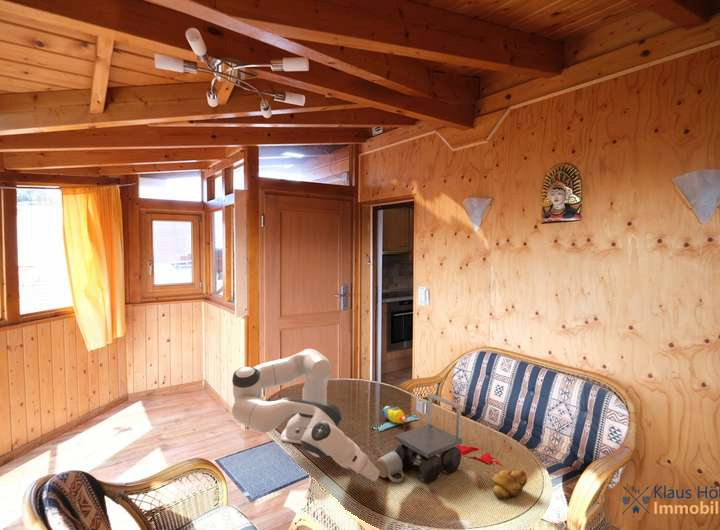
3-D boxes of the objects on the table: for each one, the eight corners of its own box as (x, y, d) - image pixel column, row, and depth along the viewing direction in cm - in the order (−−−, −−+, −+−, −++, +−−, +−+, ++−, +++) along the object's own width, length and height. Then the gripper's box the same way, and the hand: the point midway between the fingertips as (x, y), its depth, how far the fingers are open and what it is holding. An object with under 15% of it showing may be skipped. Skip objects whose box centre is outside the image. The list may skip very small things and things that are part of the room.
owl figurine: (381, 417, 191) (363, 408, 203) (381, 436, 191) (363, 425, 204) (426, 404, 207) (406, 396, 219) (426, 422, 207) (406, 412, 219)
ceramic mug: (373, 474, 158) (374, 454, 158) (389, 466, 164) (389, 447, 163) (393, 486, 150) (393, 466, 150) (408, 478, 155) (409, 459, 155)
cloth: (510, 463, 167) (511, 458, 167) (489, 474, 159) (489, 468, 159) (460, 439, 188) (460, 434, 188) (439, 448, 180) (439, 442, 180)
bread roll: (504, 505, 139) (504, 482, 139) (482, 490, 148) (483, 468, 148) (529, 494, 146) (530, 472, 145) (507, 480, 154) (508, 459, 154)
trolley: (425, 489, 148) (426, 418, 147) (392, 467, 163) (392, 403, 162) (463, 470, 161) (464, 405, 160) (429, 452, 175) (430, 392, 174)
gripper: (325, 449, 152) (346, 467, 159) (358, 474, 136) (381, 493, 142) (335, 434, 155) (356, 453, 161) (369, 457, 139) (391, 476, 145)
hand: (368, 472), depth 152 cm, fingers closed
